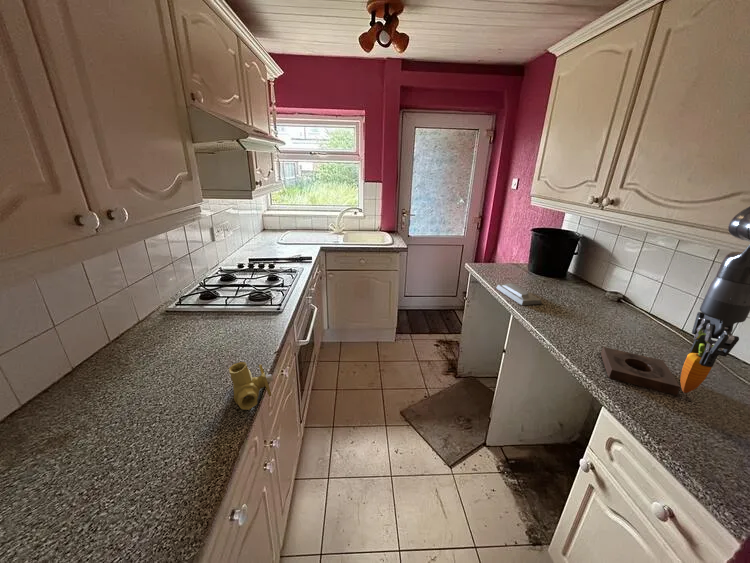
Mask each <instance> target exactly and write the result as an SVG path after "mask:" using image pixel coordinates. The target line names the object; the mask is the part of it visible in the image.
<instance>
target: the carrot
mask: <svg viewBox="0 0 750 563" xmlns="http://www.w3.org/2000/svg"><path fill="white" fill-rule="evenodd" d="M713 346H714V344H712V347H713ZM704 347H705V345H704V344H699V353H691V352H690V353H688V354H687V356H686V358H685V360H684V363H683V365H682V369H681V373H680V381H679V382H680V383H679V384H680V389H681V391H682V392H683V393H684V394H689V393H690V392H692V391H694V390H696V389H698V388H699V387H700V385H702V383H704V381H705V380H706V379H707V377H708V375H709V374H710V372H711V370H712V369H713V366H712V367H706V366H702V365H701V364H700V363H699V362H700V360H701V358H702V356H703V353H704V351H705V349H706V348H704Z"/></svg>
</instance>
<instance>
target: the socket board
mask: <svg viewBox="0 0 750 563" xmlns="http://www.w3.org/2000/svg"><path fill="white" fill-rule="evenodd" d="M600 357H601V358H602V361H603V362H602V363H603V365H604V368H605V371H606V374H607V377H608V379H612V380H615V381H619V382H623V383H627V384H631V385H635V386H638V387H643V388H647V389H651V390H654V391H658V392H662V393H666V394H670V395H673V396H677V395H678V394H679V391H680V389H681V384H680V383H679V382H678V381H677V379H676V378H675V376H674V375H673V373H672V372H671V370H670V369H669V367H668V365H667V364H666V362H665V360H663V359H660V358H659V359H658V358H655V357H651V356H646V355H641V354H637V353H633V352H630V351H629V352H628V351H624V350H619V349H615V348H612V347H611V348H610V347H606V346H603V347H602V350H601V352H600Z"/></svg>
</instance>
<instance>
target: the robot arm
mask: <svg viewBox="0 0 750 563" xmlns="http://www.w3.org/2000/svg"><path fill="white" fill-rule="evenodd" d="M727 230H728V234H730V235H731V236H732V237H733V238H736V239H738V240H741V241H745V242H748V243H750V206H748V207H746V208H744V209H742V210H741V211H739V212H738V213H736V214H735V215H734V216H733V217H732V219H731V220H730V221H729V223H728V226H727ZM709 284H710V285H709V286H708V289H707V291H706V293H705V296H704V297H703V300H702V303H701V304H700V307H699V311H698V312H697V313H696V317H695V320H694V323H693V327H692V330H691V334H692V335H693V339H694V341H693V343H692V345H691V347H690V350H689V352H690V353H699V344H704V345H705V347H704V348H705V351H704V353H703V356H702V358H701V360H700V362H699V363H700V364H701V365H702V366H706V367H712V368H713V366H714V365H715V362H716V361H717V359H718V357H719V356H720V357H725V358H726V357H727V356H728V355H729V354H730V352H731V351H732V350H733V348H734V347H735V346H736V345H737V344H738V342H739V341H740V337H739V336H738V335H733V330H734V325H736V324H739V323H743V322H745V321H746V320H747V318H748V316H749V314H750V244H748V245H747V247H746V248H745V249H744V250H743V251H731V252H728V253H727V254H726V255H725V256H724V258H723V260H722V261H721V263H720V266H719V268H718V270H717V272H716V275H715V277H714V278H713V280H712V281H711V282H710V283H709ZM713 345H714V346H713ZM712 346H713V347H712Z"/></svg>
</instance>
